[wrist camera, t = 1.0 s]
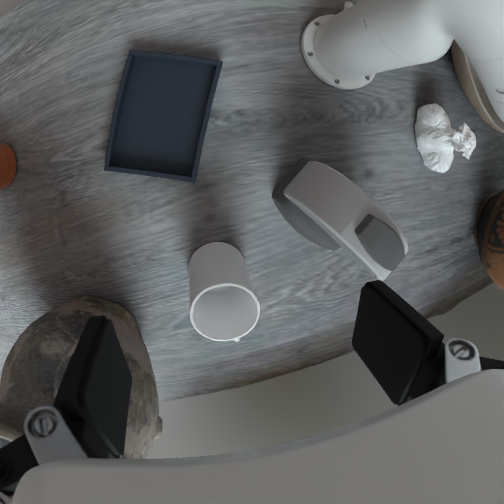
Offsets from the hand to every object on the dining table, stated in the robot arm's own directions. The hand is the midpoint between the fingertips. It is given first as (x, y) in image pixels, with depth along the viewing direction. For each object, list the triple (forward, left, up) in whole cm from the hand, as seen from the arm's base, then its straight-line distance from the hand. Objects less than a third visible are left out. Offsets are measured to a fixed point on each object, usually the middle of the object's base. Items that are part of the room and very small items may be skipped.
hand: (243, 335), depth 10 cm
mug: (+13, +4, -31) cm, 34 cm away
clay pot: (+27, -15, -31) cm, 44 cm away
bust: (-18, +34, -31) cm, 50 cm away
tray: (-9, -8, -31) cm, 33 cm away
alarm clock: (-1, +16, -31) cm, 35 cm away
